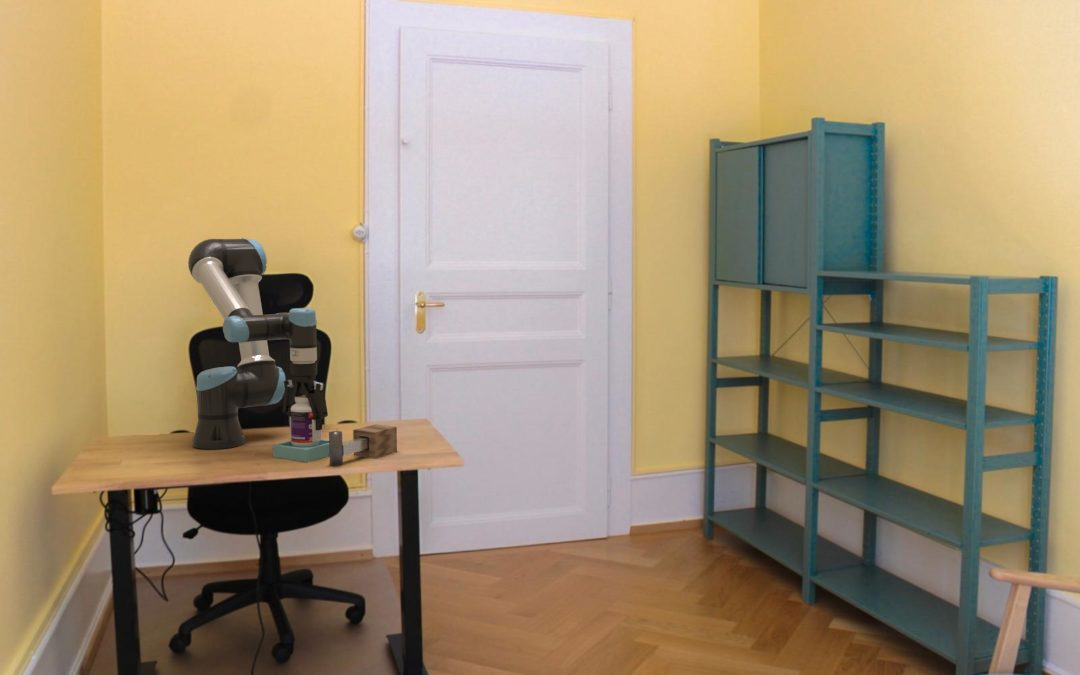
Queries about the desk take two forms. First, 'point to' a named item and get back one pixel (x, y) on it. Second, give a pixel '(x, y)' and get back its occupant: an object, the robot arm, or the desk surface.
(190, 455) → the desk surface
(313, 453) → the tray
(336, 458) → the grey t-shaped piece
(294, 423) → the pill bottle
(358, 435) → the mount
